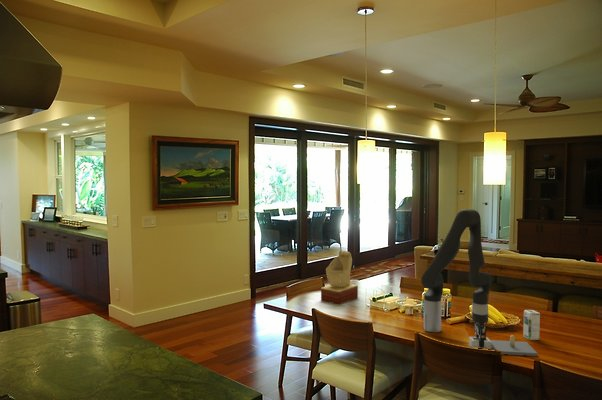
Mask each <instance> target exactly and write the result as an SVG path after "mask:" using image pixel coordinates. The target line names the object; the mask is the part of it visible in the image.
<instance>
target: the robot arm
mask: <svg viewBox="0 0 602 400" xmlns="http://www.w3.org/2000/svg"><path fill="white" fill-rule="evenodd" d="M481 225H482V221H481V215H480V213H479V212H478V210H475V209H465V208H464V209H461V210H459V211H458V212H457V214H455V217H454V219H453V222H452V224H451V227H450V229H449V231H448V233H447V234H446V236H445V238H444V240H443V241H442V243H441V245H440V247H439V248H438V251H437V252H436V254H435V255H434V257H433V260H432V261H431V263H430V264H429V265H428V266H427V268H426V270H425V271H424V272H423V274H422V276H421V280H420V282H421V285H422V287H423V288H425V289H427V291H426V292H425V293H424V296H423V330H424V331H425V332H429V333H440V332H441V331H442V297H443V293H444V277H443V274H442V271H443V270H445V269H446V268H447V267H448V266H449V265H450V264H452V262H453V261H454V260H455V258H456V257H457V255H458V253H459V251H460V248H461V238H462V235H463V233H464V232H465V230H466V229H467V228H468V230H469V234H470V235H469V238H470V239H469V243H468V248H467V256H468V261H469V272H468V273H469V275H468V281H469V284H470V285H471V286H472V287H473V288H474V287H475V288H478V289H476V290H474V291H473V292H472V307H471V320H472V322H474V323H473V324H474V333H475V337H479V347H481V348H484V340H486V337H487V328H486V326H485V324H487V323H488V322H489V293H490V290H491V286H492V282H493V281H492V277H491V275H490V273H488V271H487V272H486V271H483V272H480V269H481V268H483V267H485V265H486V264H485V263H486V262H485V258H484V257H485V256H484V252H483V246H482V226H481ZM482 337H483V338H482Z"/></svg>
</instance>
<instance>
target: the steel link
mask: <svg viewBox="0 0 602 400" xmlns="http://www.w3.org/2000/svg"><path fill="white" fill-rule="evenodd" d="M468 338H469V339H468V341H469V342H468V345H469V347H470V348H471V347H477V348H481V347H479V337H476V336H468ZM482 338H483V336H482ZM490 340H491V339H490V338H489V337H487V336H486V340H484V348H487V349H491V350H492V346H491V341H490ZM487 349H486V350H487Z"/></svg>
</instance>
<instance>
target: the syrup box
mask: <svg viewBox="0 0 602 400" xmlns="http://www.w3.org/2000/svg"><path fill="white" fill-rule="evenodd" d="M540 317H541V313H540V312H538V311H536V310H533V309H524V310H523V332H522V333H523V334H522V335H523V337H524V338H525V339H527V340H529V341H536V340H537V341H538V340H539V341H540V325H541V324H540V322H541V319H540Z"/></svg>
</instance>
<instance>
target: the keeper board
mask: <svg viewBox="0 0 602 400" xmlns="http://www.w3.org/2000/svg"><path fill="white" fill-rule="evenodd" d="M489 340H490V341H491V349H493V350H494V349H495V350H498V351H501V352H502V354H501V355H504V354H508V356H523V355H527V356H526V357H528V356H529V357H538V352H537V351H536V350H535V349H534V348H533V347H532V346H531V345H530V344H529V343H528V341H516V340H515V335H513V334H512V335H510V336H509V340H495V339H489ZM495 350H494V351H495Z"/></svg>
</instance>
